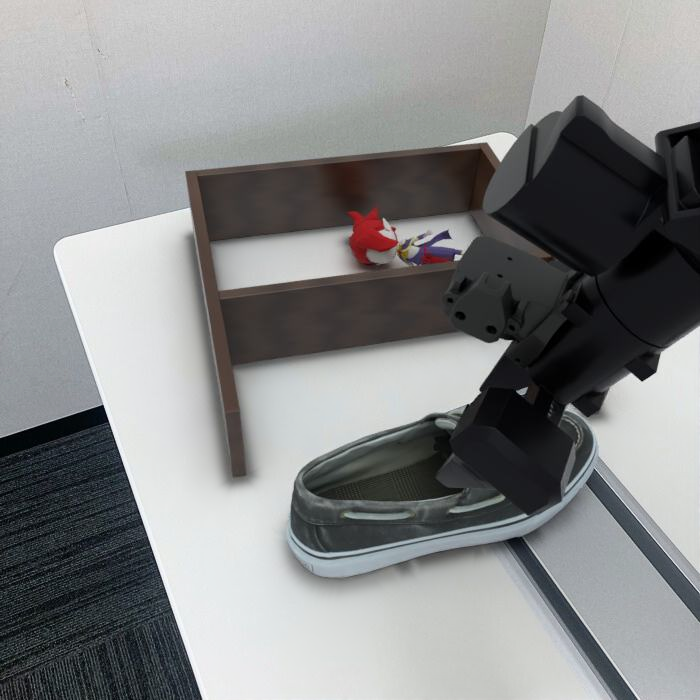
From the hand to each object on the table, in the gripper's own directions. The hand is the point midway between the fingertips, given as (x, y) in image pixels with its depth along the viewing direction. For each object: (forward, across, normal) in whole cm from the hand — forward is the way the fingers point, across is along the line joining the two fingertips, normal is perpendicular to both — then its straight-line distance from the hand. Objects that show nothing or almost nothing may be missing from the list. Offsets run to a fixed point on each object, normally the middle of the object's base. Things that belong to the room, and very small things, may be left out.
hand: (464, 434), depth 51 cm
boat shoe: (+14, -6, +6) cm, 16 cm away
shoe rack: (+18, -25, -8) cm, 32 cm away
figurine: (+18, -34, -10) cm, 39 cm away
